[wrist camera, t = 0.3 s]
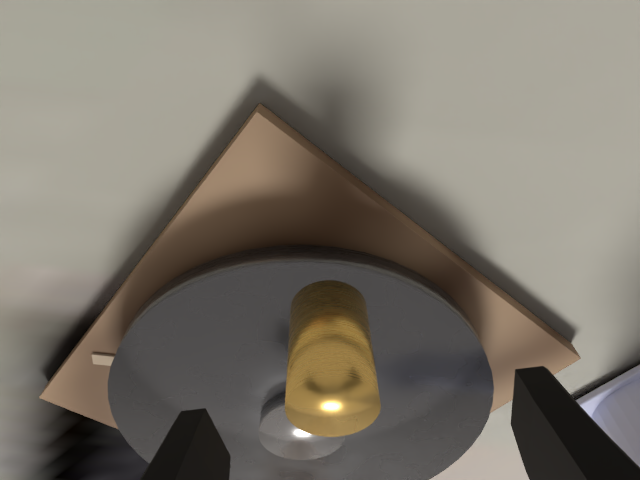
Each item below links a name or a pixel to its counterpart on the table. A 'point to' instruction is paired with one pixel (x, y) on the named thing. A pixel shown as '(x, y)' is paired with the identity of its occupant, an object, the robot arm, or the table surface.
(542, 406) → the robot arm
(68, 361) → the base plate
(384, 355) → the handwheel
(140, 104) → the table surface
